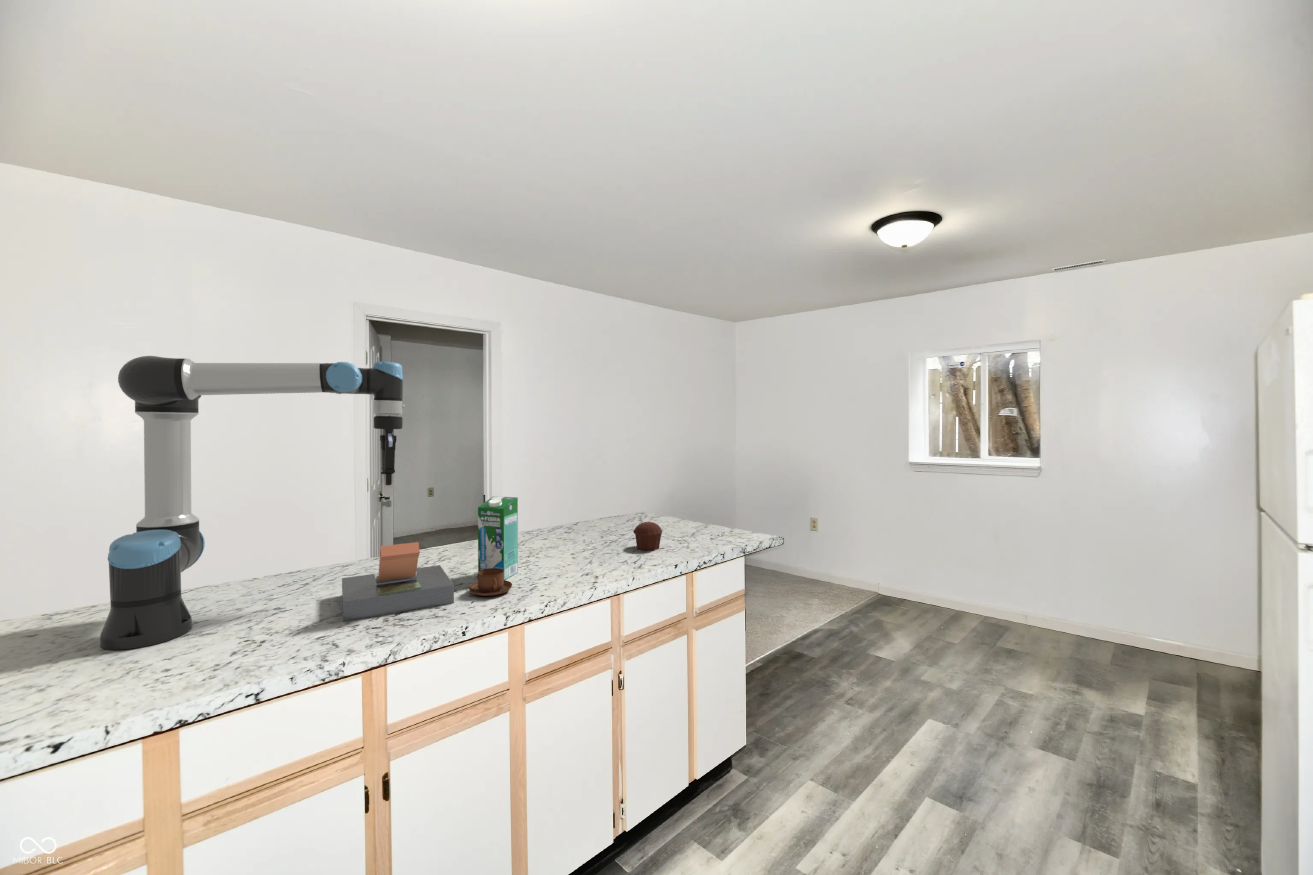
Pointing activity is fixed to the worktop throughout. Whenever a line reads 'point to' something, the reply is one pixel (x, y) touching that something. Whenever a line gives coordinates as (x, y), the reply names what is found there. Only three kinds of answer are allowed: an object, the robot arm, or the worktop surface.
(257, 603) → the worktop surface
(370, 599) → the box
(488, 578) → the cup and saucer
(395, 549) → the orange thin slab
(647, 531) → the muffin
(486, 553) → the milk carton
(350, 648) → the worktop surface
